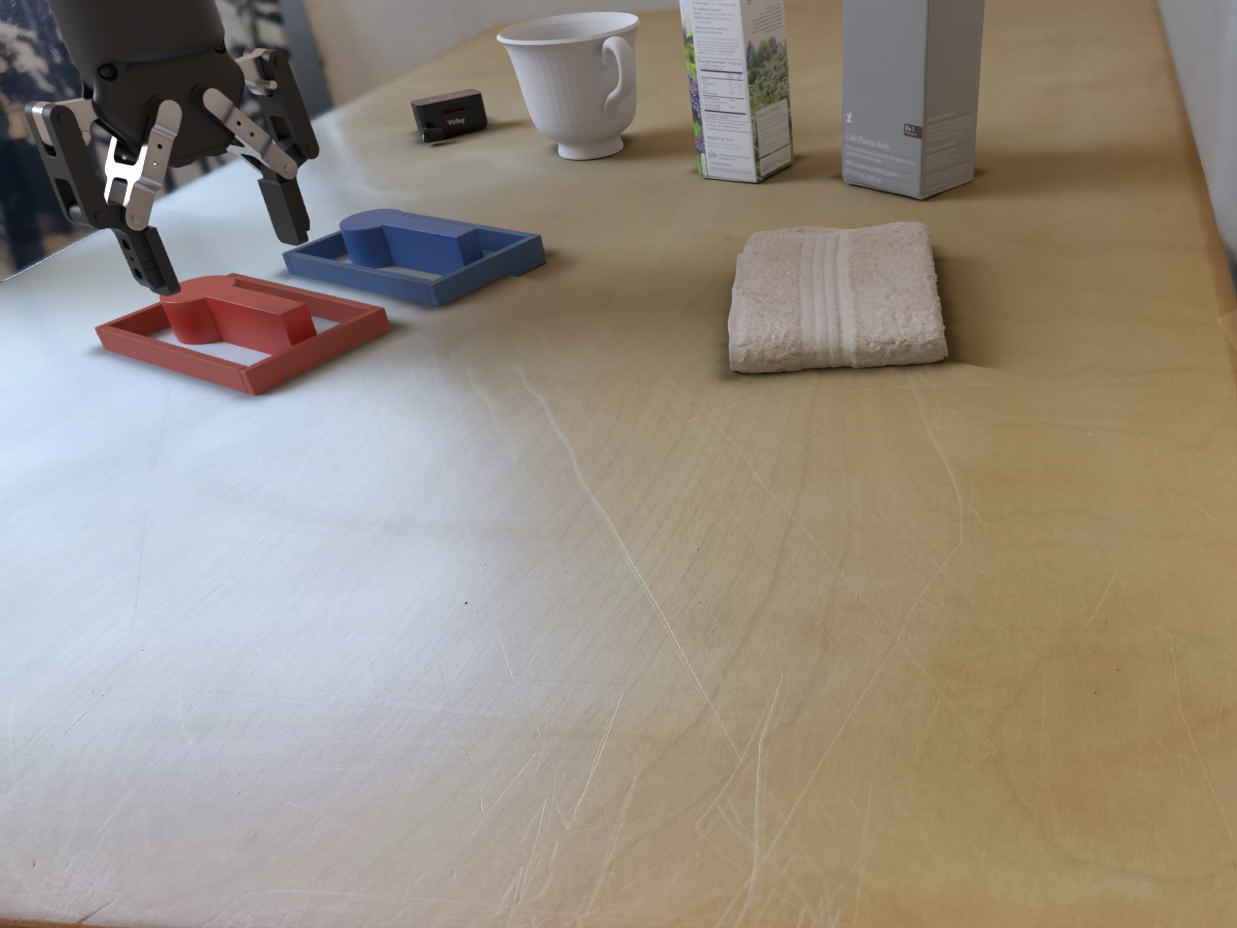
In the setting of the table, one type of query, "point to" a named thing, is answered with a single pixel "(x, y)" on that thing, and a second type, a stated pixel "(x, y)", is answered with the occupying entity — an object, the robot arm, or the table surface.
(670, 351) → the table surface
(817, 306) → the washcloth
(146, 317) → the red frame
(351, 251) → the blue rounded-end block
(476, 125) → the black electronic device
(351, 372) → the table surface
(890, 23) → the cosmetic box
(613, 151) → the teacup
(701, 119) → the syrup box
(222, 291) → the red rounded-end block
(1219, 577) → the table surface
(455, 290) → the blue frame
